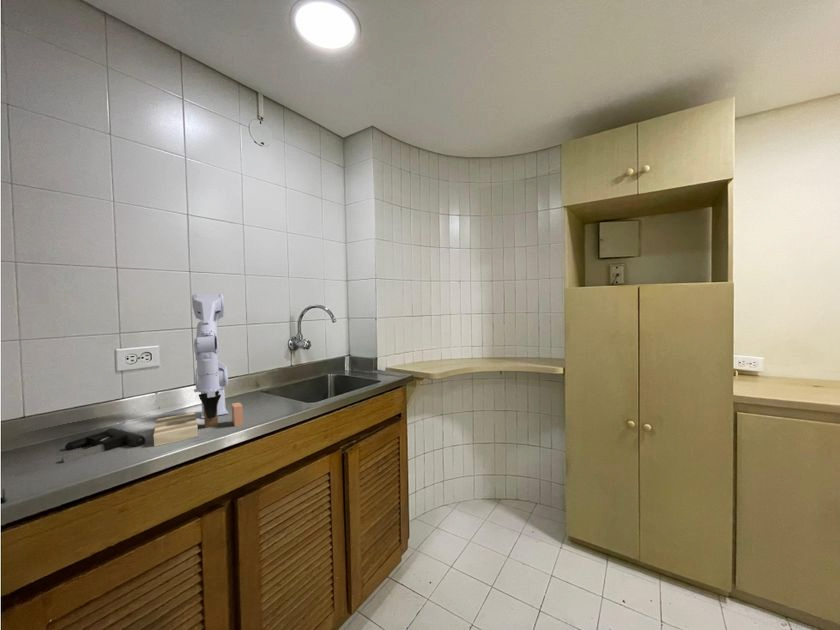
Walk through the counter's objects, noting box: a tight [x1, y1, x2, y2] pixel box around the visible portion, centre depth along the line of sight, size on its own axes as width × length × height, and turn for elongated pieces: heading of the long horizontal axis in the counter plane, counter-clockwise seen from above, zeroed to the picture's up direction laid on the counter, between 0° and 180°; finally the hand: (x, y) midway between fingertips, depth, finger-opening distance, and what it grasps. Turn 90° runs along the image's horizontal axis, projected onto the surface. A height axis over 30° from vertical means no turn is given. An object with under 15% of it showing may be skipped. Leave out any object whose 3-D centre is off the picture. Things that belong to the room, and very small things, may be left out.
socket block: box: [153, 412, 199, 447], centre depth 104 cm, size 20×10×3 cm, turn 36°
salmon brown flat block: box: [231, 402, 244, 427], centre depth 110 cm, size 6×2×6 cm, turn 36°
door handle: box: [60, 427, 149, 464], centre depth 93 cm, size 3×20×16 cm
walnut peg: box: [203, 408, 219, 429], centre depth 109 cm, size 3×3×9 cm
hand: (210, 416), depth 109 cm, fingers open, 3 cm apart
